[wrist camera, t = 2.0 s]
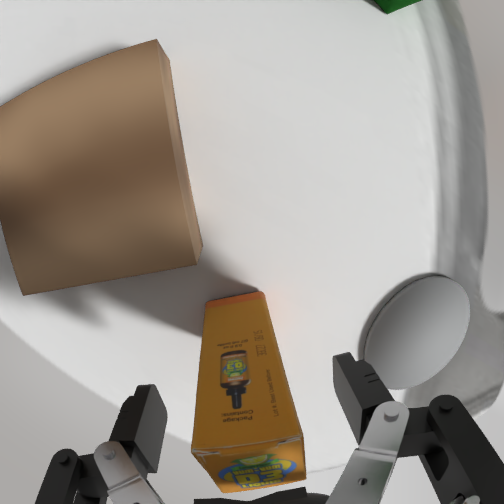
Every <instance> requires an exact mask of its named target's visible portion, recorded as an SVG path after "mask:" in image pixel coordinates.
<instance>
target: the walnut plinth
mask: <svg viewBox="0 0 504 504" xmlns="http://www.w3.org/2000/svg"><path fill="white" fill-rule="evenodd" d="M0 221H1V225H2V229H3V233H4V237H5V241H6V245H7V248H8V252H9V255H10V258H11V262H12V265H13V268H14V271H15V274H16V277H17V280H18V283H19V286H20V289H21V292H22V294H23V296H24V295H30V294H36V293H41V292H47V291H53V290H58V289H64V288H70V287H75V286H81V285H86V284H92V283H98V282H103V281H109V280H114V279H120V278H126V277H131V276H137V275H142V274H148V273H153V272H159V271H165V270H170V269H176V268H181V267H187V266H192V265H197V263H198V260H199V256H200V253H201V250H202V247H203V244H202V239H201V235H200V230H199V225H198V221H197V216H196V211H195V206H194V201H193V196H192V191H191V186H190V181H189V175H188V170H187V165H186V159H185V154H184V148H183V143H182V137H181V131H180V125H179V119H178V113H177V107H176V101H175V94H174V88H173V81H172V74H171V67H170V60H169V58H168V57H167V55H166V54H165V52H164V50H163V49H162V47H161V45H160V44H159V42H158V40H157V39H155V40H151V41H148V42H144V43H141V44H137V45H134V46H131V47H128V48H125V49H122V50H119V51H116V52H113V53H110V54H107V55H105V56H102V57H99V58H97V59H94V60H92V61H89V62H87V63H84V64H82V65H79V66H77V67H75V68H72V69H70V70H68V71H66V72H64V73H61V74H59V75H57V76H55V77H53V78H51V79H49V80H47V81H45V82H43V83H41V84H39V85H37V86H35V87H33V88H31V89H30V90H28V91H26V92H24V93H22V94H21V95H19V96H17V97H15V98H14V99H12V100H10V101H9V102H7V103H5V104H4V105H2V106H1V107H0Z"/></svg>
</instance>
